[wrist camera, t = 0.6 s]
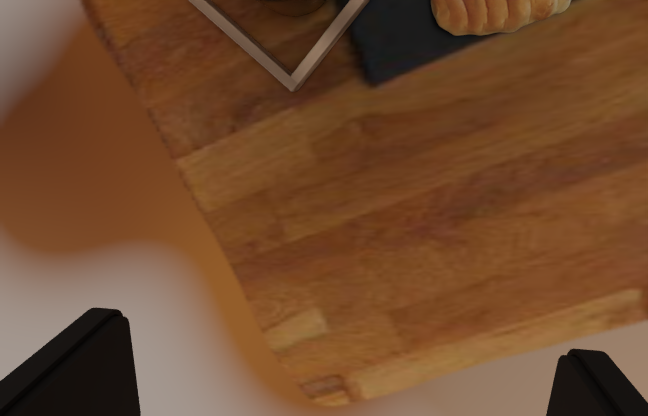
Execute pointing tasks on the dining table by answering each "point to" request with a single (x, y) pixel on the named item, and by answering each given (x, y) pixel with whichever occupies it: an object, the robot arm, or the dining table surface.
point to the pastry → (492, 14)
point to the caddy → (270, 62)
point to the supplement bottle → (292, 6)
